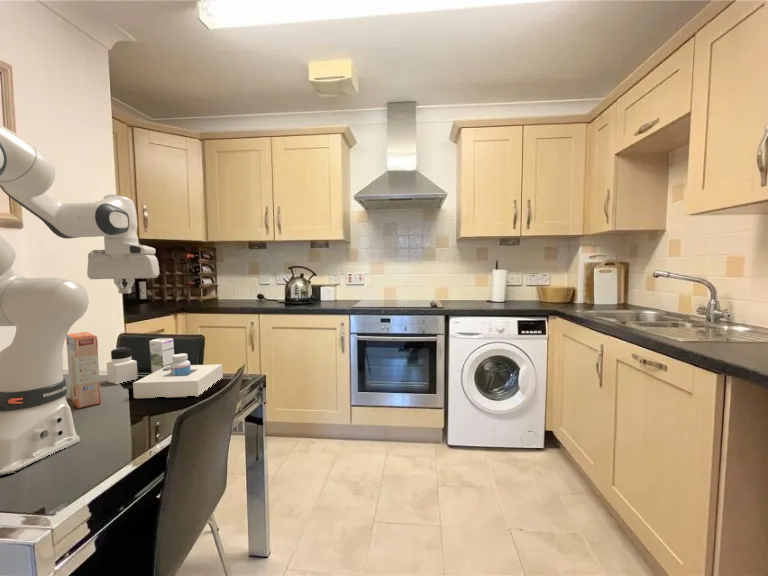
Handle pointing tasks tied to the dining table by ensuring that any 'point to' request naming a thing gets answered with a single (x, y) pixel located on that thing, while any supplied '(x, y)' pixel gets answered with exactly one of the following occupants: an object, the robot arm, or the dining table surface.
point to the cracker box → (83, 369)
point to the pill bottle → (180, 365)
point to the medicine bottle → (121, 366)
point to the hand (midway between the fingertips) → (125, 293)
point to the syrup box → (161, 353)
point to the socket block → (178, 382)
